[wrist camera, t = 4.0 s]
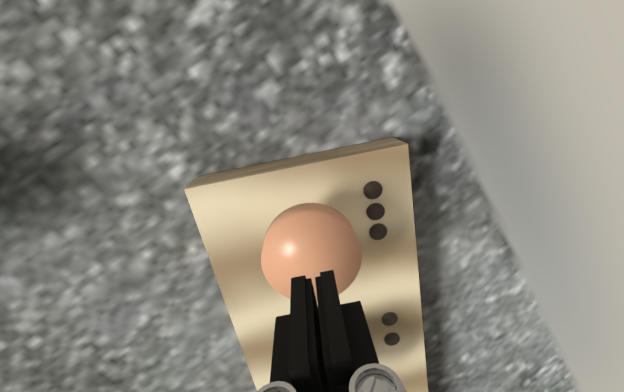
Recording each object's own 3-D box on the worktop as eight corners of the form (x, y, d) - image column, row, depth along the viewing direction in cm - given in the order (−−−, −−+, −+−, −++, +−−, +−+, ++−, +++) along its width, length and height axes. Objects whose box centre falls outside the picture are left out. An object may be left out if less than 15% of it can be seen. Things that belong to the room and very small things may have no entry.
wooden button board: (419, 406, 30) (438, 456, 26) (285, 432, 30) (284, 485, 26) (392, 137, 21) (416, 147, 16) (199, 176, 21) (176, 196, 17)
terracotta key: (361, 274, 17) (367, 291, 16) (276, 291, 17) (274, 310, 16) (348, 194, 16) (354, 204, 14) (253, 213, 16) (249, 225, 14)
